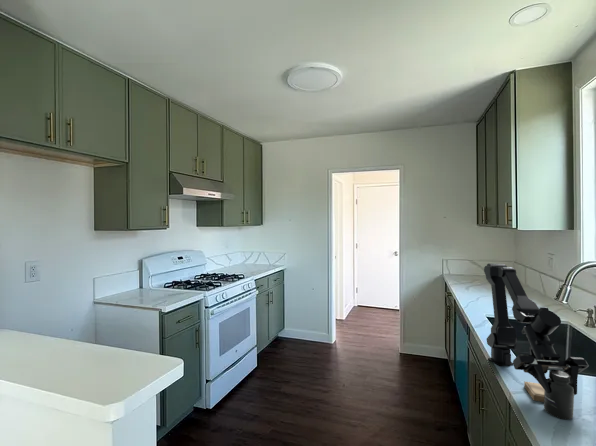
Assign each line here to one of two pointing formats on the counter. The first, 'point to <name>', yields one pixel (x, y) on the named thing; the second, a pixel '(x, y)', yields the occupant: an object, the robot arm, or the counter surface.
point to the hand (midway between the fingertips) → (562, 393)
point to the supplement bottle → (559, 395)
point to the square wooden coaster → (535, 391)
